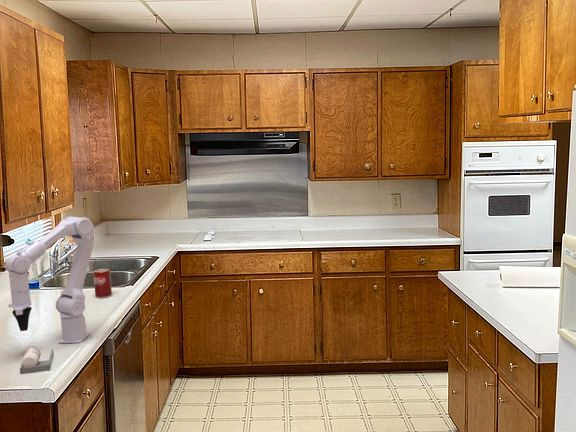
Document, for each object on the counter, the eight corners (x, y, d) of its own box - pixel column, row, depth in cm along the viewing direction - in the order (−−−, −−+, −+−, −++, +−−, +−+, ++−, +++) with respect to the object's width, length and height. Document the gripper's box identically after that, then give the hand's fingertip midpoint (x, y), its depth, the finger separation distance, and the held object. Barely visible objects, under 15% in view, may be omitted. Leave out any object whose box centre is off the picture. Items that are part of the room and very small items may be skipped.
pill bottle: (27, 363, 213) (23, 372, 205) (23, 349, 212) (19, 357, 204) (42, 359, 214) (39, 368, 206) (38, 345, 213) (35, 353, 205)
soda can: (103, 299, 291) (101, 272, 289) (91, 297, 294) (89, 271, 293) (115, 295, 297) (113, 269, 295) (104, 293, 300) (102, 267, 299)
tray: (26, 357, 218) (25, 352, 217) (53, 354, 220) (53, 349, 220) (20, 373, 203) (19, 368, 203) (49, 370, 205) (49, 364, 205)
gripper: (10, 287, 224) (14, 325, 226) (3, 297, 210) (8, 338, 212) (32, 284, 226) (36, 323, 228) (27, 294, 212) (31, 335, 214)
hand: (24, 330), depth 220 cm, fingers closed
